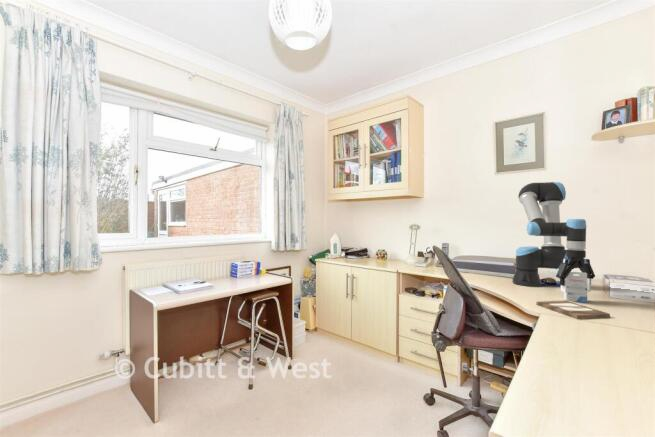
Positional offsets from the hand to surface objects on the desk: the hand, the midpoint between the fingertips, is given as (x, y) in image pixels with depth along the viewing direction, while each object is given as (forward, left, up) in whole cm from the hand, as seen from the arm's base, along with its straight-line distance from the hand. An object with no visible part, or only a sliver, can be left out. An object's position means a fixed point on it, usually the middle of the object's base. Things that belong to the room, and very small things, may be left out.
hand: (575, 291), depth 151 cm
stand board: (+14, -18, -5) cm, 23 cm away
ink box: (0, 0, -5) cm, 5 cm away
